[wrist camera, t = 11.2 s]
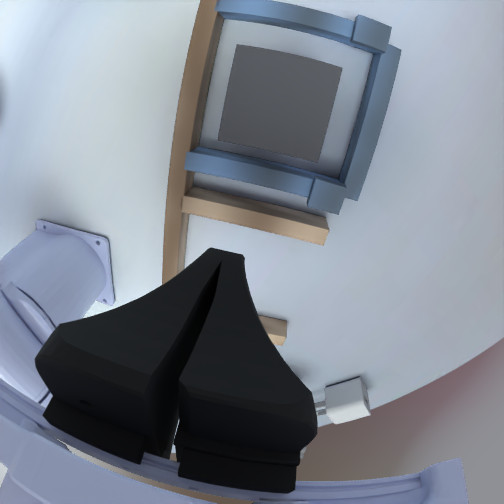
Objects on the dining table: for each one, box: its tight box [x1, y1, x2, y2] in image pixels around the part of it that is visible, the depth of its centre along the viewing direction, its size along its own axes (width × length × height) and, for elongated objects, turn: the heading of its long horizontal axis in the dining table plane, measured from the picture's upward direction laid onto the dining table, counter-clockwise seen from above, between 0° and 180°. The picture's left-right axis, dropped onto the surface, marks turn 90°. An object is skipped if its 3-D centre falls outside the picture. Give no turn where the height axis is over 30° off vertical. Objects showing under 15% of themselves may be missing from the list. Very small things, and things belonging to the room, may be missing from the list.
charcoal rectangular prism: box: [218, 44, 342, 163], centre depth 13 cm, size 4×4×8 cm
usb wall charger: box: [314, 377, 371, 424], centre depth 30 cm, size 4×7×4 cm, turn 122°
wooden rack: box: [162, 0, 401, 346], centre depth 19 cm, size 12×26×3 cm, turn 169°
